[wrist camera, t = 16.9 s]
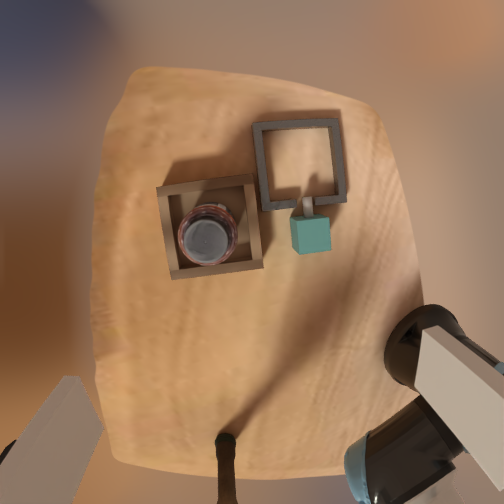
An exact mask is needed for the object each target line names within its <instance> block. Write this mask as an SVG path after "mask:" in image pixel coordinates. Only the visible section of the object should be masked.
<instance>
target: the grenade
mask: <svg viewBox="0 0 504 504" xmlns="http://www.w3.org/2000/svg"><path fill="white" fill-rule="evenodd" d="M215 447H216V457H217V460H218V501H217V504H238V503H237V500H236V488H235V472H234V459H235V447H236V440H235V439H234V437H233V436H232V435H230V434H220V435H219V436H217V438H216V440H215Z"/></svg>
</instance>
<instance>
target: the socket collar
mask: <svg viewBox="0 0 504 504" xmlns="http://www.w3.org/2000/svg"><path fill="white" fill-rule="evenodd" d="M251 126H252V134H253V143H254V151H255V159H256V168H257V176H258V185H259V193H260V202H261V210H262V211H270V210H279V209H287V208H296V207H297V202H296V199H286V200H277V201H270V198H269V189H268V180H267V172H266V163H265V155H264V146H263V138H262V132H264V131H276V130H290V129H308V128H328V131H329V139H330V147H331V156H332V165H333V175H334V186H335V195H326V196H316V197H312V205H325V204H335V203H345V202H347V197H346V185H345V174H344V164H343V155H342V146H341V138H340V130H339V123H338V118H330V119H300V120H282V121H268V122H257V123H252V125H251Z"/></svg>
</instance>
